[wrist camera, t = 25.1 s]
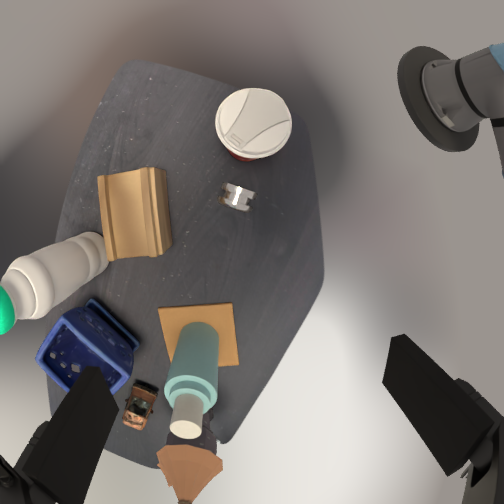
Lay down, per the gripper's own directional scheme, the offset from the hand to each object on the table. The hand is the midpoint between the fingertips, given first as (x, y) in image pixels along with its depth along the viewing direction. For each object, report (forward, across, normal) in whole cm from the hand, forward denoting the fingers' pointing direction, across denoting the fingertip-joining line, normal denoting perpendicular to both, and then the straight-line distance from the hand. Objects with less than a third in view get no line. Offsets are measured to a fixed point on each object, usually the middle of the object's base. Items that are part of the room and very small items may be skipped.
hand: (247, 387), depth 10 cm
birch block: (+31, -13, +6) cm, 34 cm away
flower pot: (+30, -26, -14) cm, 42 cm away
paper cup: (+31, +3, +15) cm, 35 cm away
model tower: (+31, -11, -28) cm, 43 cm away
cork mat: (+31, -8, -15) cm, 35 cm away
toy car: (+31, -23, -30) cm, 49 cm away
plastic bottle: (+20, -8, -18) cm, 28 cm away
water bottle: (+31, -23, +1) cm, 39 cm away
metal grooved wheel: (+31, +1, +7) cm, 32 cm away
